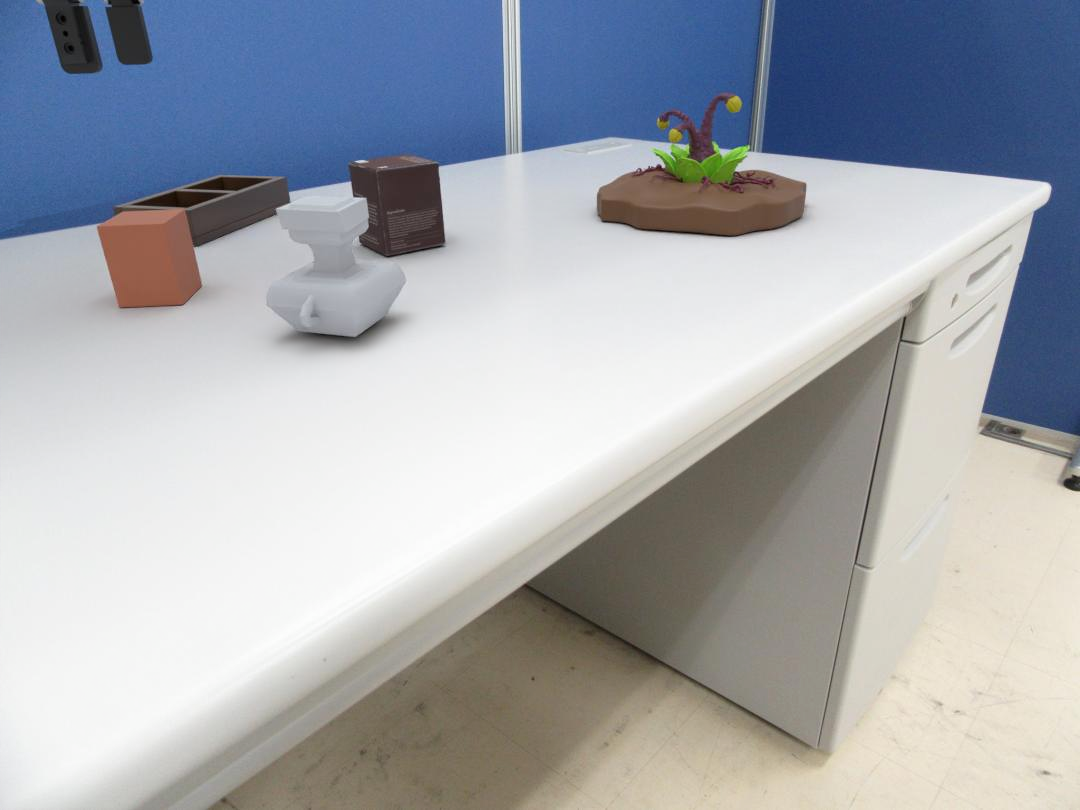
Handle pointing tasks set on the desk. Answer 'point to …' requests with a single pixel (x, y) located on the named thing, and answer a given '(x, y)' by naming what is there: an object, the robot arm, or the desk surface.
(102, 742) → the desk surface
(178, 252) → the block
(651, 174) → the plant
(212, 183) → the tray
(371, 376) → the desk surface
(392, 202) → the box
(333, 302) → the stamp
